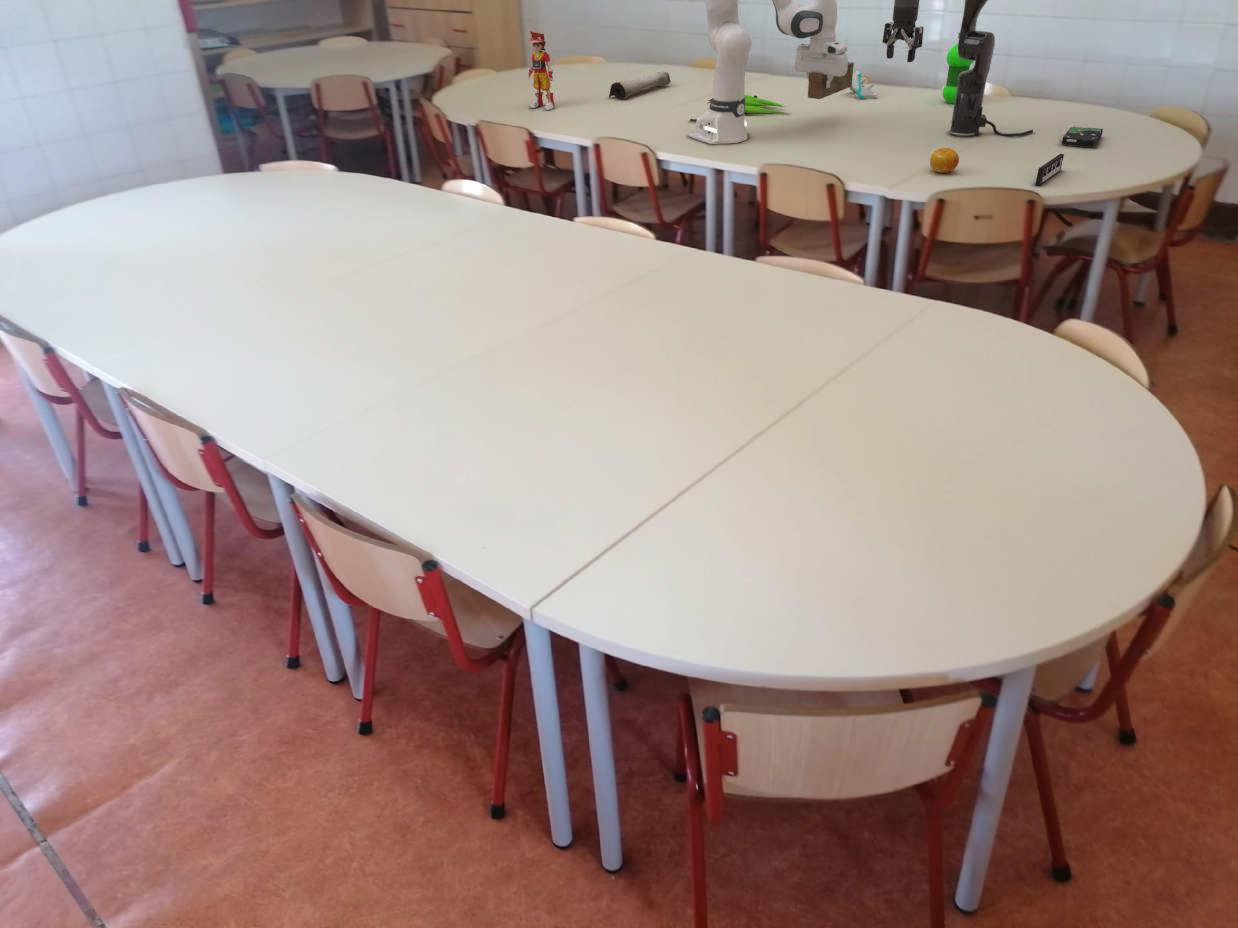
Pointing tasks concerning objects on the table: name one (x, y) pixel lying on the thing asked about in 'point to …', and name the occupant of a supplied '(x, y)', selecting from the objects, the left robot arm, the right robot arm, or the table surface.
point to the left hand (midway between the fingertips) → (819, 87)
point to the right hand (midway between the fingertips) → (899, 60)
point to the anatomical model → (861, 86)
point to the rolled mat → (638, 84)
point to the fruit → (944, 160)
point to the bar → (836, 85)
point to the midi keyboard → (1049, 169)
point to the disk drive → (1082, 136)
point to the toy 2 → (754, 105)
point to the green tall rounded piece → (954, 73)
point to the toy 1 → (541, 71)
